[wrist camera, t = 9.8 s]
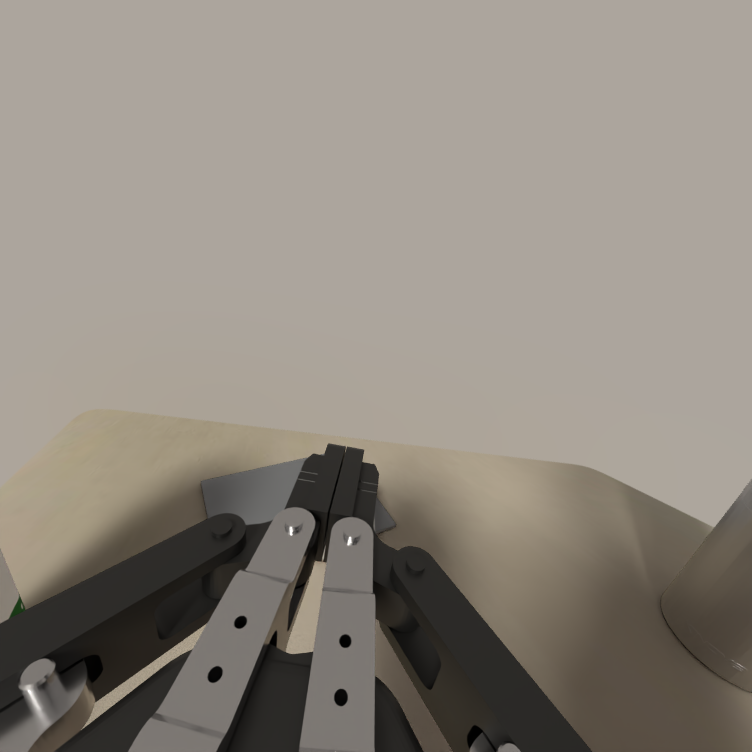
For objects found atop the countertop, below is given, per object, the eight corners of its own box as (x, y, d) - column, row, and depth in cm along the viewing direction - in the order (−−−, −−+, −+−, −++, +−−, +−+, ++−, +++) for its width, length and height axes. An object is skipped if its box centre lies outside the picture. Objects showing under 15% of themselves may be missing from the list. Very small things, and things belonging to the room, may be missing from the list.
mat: (341, 452, 50) (342, 449, 50) (395, 526, 39) (396, 524, 39) (201, 483, 41) (200, 480, 40) (222, 592, 30) (222, 589, 30)
